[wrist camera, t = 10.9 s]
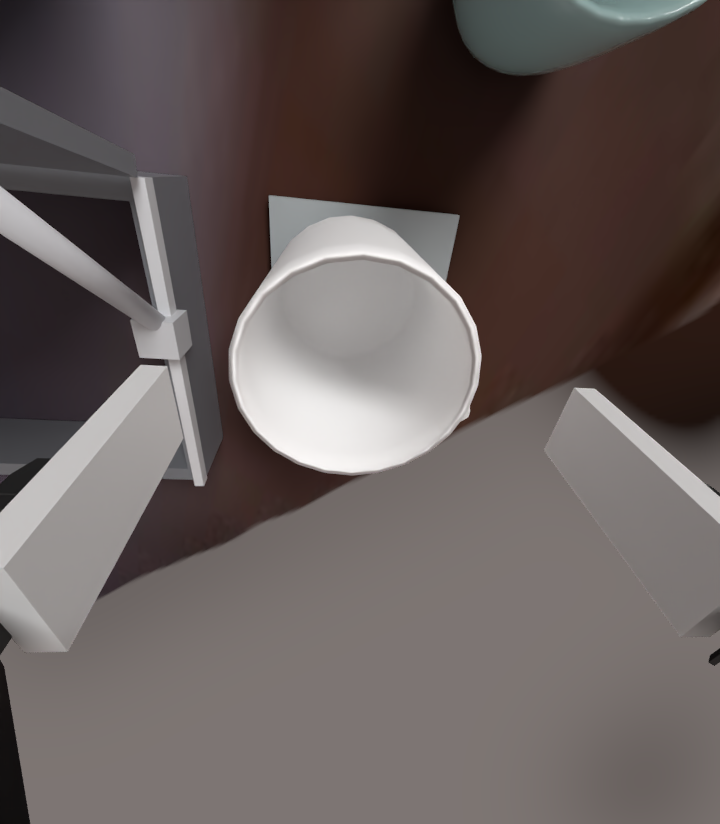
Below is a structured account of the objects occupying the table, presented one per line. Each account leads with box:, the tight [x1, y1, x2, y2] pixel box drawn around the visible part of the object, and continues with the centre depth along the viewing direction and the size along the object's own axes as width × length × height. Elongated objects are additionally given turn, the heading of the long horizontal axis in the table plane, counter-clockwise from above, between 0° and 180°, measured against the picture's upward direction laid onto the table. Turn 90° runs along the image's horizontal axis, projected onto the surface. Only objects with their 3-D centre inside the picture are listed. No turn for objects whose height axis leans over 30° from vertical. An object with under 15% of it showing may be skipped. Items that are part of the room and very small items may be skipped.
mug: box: [229, 215, 481, 475], centre depth 19 cm, size 10×12×12 cm
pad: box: [269, 195, 460, 282], centre depth 24 cm, size 11×11×1 cm
